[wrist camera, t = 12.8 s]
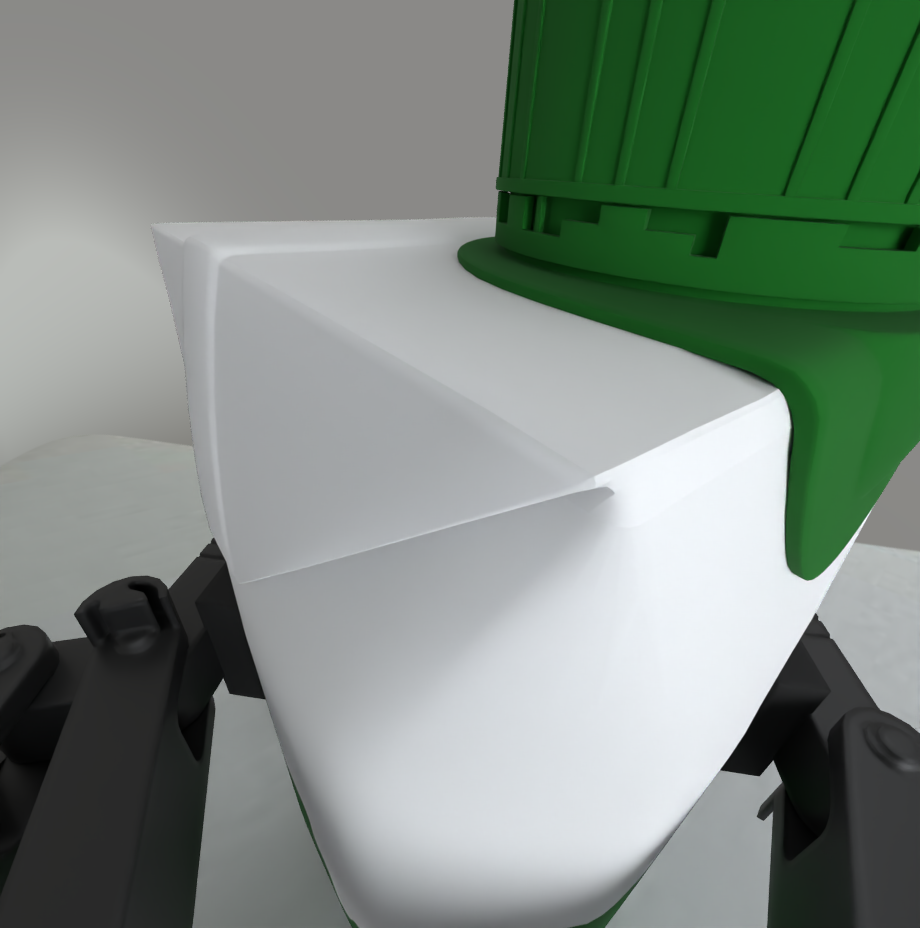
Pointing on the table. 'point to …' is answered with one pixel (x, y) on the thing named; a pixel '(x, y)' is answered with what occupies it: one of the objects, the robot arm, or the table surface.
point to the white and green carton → (564, 445)
